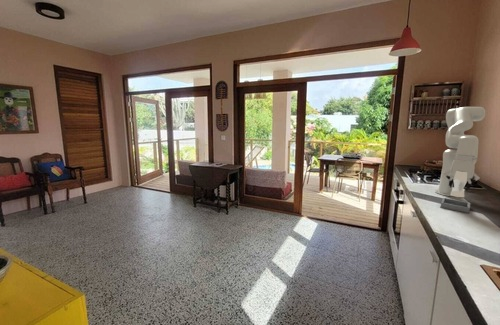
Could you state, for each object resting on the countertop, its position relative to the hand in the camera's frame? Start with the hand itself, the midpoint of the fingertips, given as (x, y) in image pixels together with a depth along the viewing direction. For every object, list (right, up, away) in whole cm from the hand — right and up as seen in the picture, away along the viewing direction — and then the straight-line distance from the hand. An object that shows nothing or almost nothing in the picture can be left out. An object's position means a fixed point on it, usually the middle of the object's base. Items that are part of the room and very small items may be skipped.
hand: (458, 188), depth 137 cm
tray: (0, -12, +2) cm, 12 cm away
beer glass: (0, -5, +1) cm, 5 cm away
